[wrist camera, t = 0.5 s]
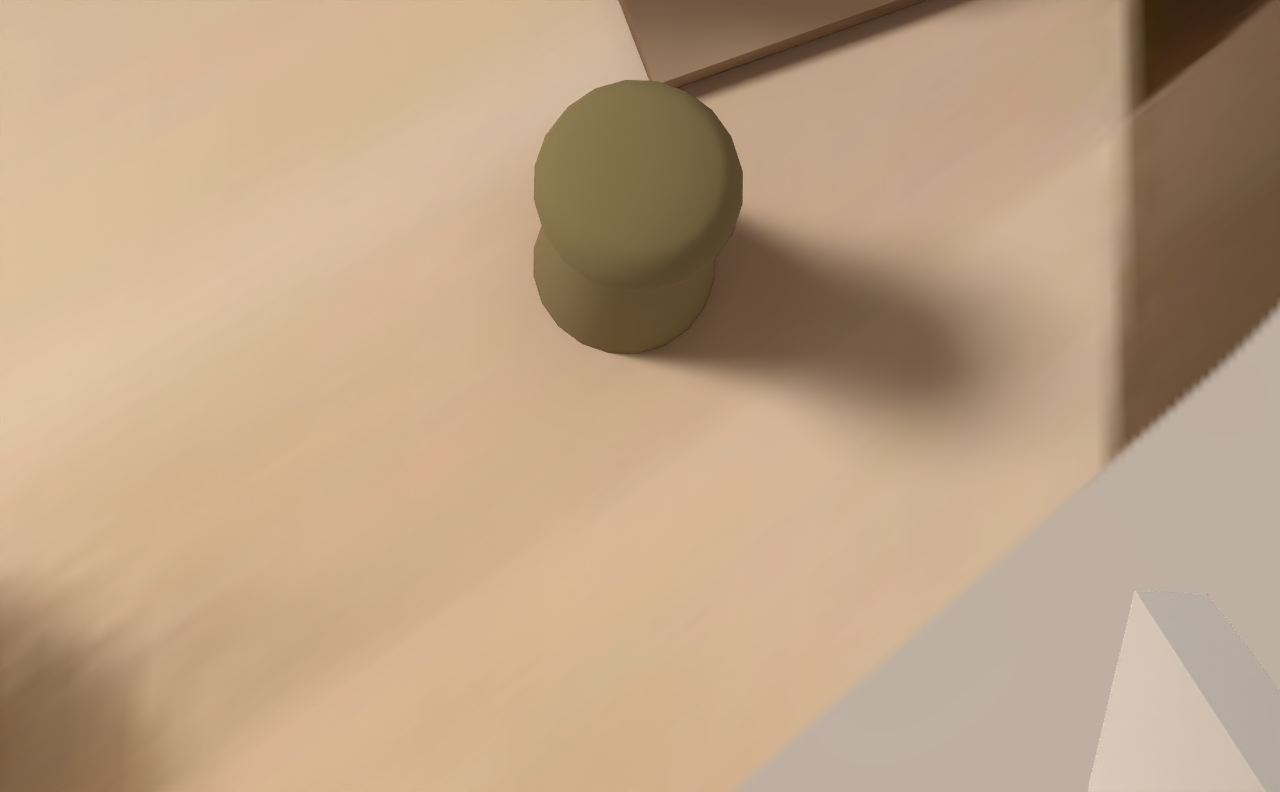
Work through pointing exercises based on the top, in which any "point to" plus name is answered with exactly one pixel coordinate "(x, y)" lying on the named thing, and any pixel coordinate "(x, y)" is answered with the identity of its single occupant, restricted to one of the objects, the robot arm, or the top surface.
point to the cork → (633, 214)
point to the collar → (734, 30)
